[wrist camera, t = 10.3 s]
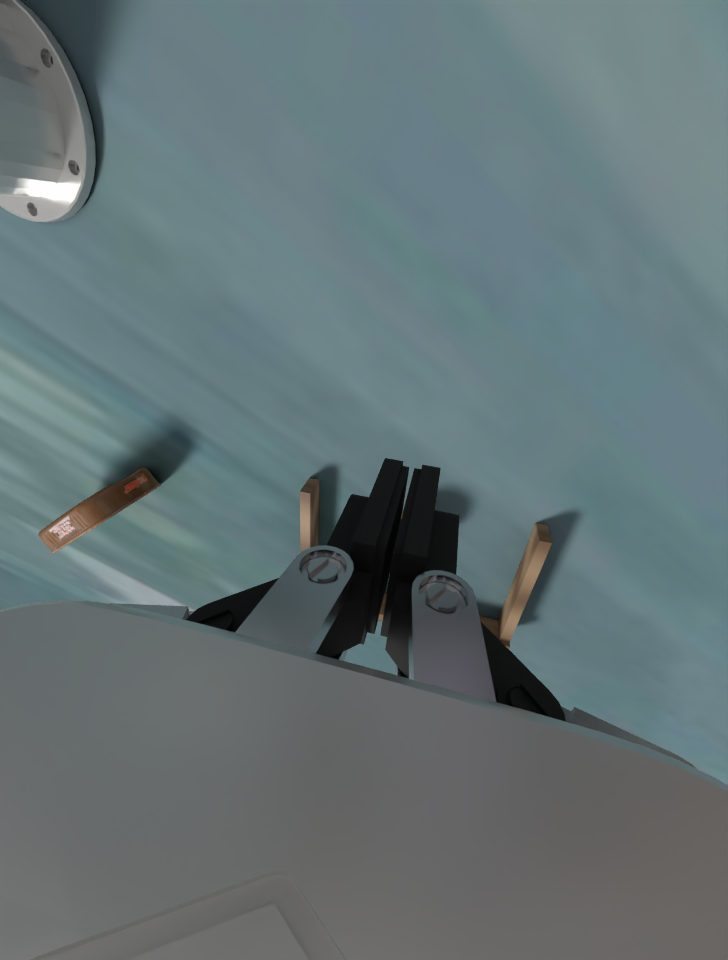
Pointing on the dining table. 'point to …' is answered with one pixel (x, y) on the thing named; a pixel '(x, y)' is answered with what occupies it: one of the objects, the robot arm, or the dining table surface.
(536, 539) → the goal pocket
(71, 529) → the tin
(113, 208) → the dining table surface
